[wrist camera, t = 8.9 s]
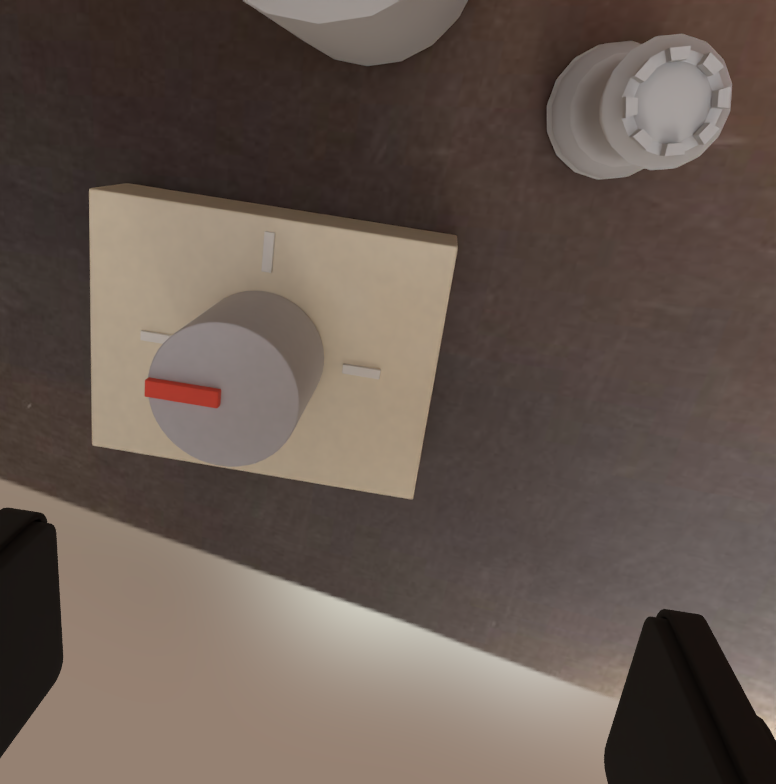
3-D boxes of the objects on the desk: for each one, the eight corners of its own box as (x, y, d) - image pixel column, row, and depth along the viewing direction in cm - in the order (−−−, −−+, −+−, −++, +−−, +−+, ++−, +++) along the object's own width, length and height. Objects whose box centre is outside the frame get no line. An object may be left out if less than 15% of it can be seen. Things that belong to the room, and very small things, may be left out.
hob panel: (416, 466, 30) (412, 502, 27) (124, 417, 30) (89, 447, 27) (457, 235, 26) (458, 247, 23) (125, 182, 27) (85, 188, 24)
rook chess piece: (628, 13, 23) (712, -46, 16) (697, 123, 24) (808, 116, 17) (518, 103, 25) (548, 87, 17) (588, 204, 26) (646, 232, 18)
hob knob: (331, 301, 24) (304, 338, 20) (317, 423, 26) (290, 483, 22) (199, 280, 25) (143, 312, 20) (194, 403, 26) (141, 458, 22)
